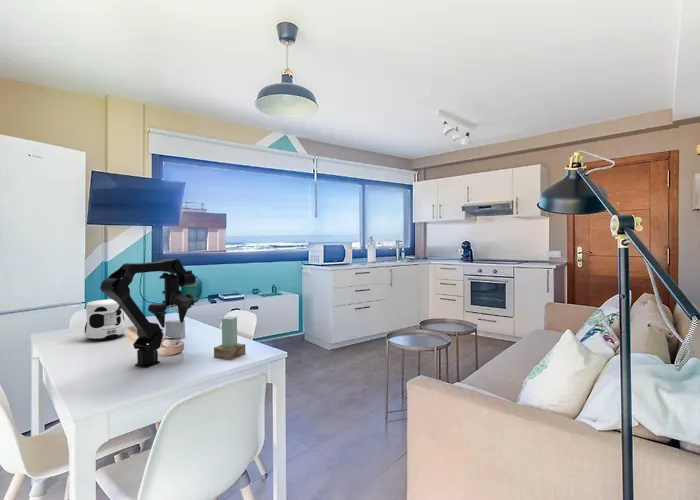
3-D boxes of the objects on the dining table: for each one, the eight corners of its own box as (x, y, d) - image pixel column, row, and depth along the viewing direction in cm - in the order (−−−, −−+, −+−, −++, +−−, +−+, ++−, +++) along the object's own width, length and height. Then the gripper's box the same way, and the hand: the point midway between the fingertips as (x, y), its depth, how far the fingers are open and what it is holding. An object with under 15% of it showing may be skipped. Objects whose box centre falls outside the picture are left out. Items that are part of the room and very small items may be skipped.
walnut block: (230, 359, 151) (230, 350, 151) (214, 356, 155) (213, 347, 155) (245, 353, 160) (245, 344, 159) (229, 350, 163) (229, 341, 163)
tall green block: (232, 347, 155) (231, 319, 154) (222, 347, 155) (221, 318, 155) (237, 344, 159) (236, 317, 159) (227, 344, 160) (227, 316, 159)
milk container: (101, 332, 194) (100, 298, 193) (133, 333, 193) (133, 298, 192) (75, 342, 177) (74, 304, 176) (111, 342, 176) (110, 305, 175)
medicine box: (185, 336, 186) (185, 319, 186) (180, 339, 182) (180, 321, 182) (170, 336, 187) (170, 319, 187) (165, 338, 183) (165, 321, 182)
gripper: (166, 292, 144) (167, 332, 145) (203, 286, 161) (203, 322, 162) (146, 291, 149) (147, 329, 150) (184, 285, 166) (185, 319, 167)
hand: (172, 325), depth 157 cm, fingers open, 9 cm apart
